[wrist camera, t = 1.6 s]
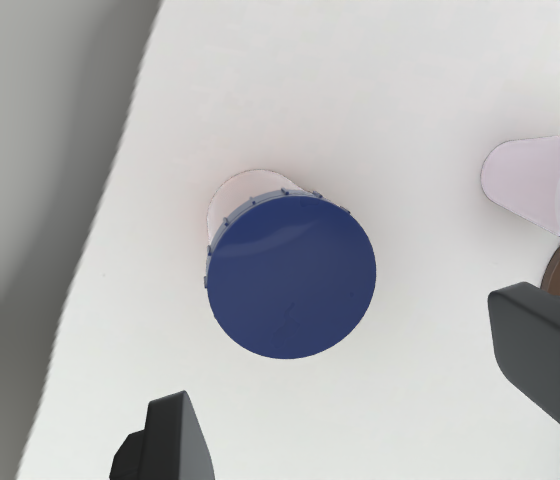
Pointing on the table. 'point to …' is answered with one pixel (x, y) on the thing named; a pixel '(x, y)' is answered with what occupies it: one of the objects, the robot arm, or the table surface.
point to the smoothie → (526, 179)
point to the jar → (242, 194)
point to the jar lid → (289, 274)
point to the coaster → (552, 275)
